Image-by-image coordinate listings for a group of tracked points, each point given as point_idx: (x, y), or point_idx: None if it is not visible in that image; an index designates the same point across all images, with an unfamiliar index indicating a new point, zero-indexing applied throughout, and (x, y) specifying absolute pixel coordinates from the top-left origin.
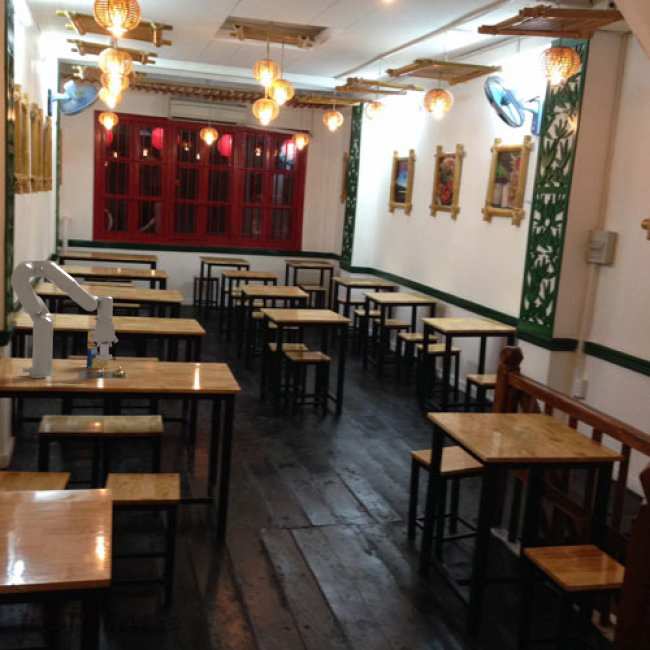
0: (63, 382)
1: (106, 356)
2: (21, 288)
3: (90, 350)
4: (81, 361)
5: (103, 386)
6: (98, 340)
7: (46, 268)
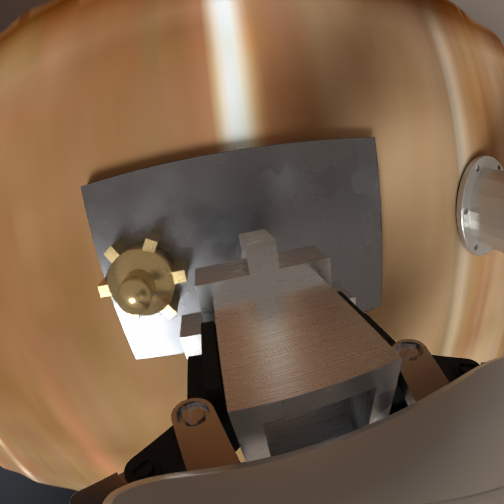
0: (414, 82)
1: (235, 274)
2: None
3: None
4: None
5: (207, 3)
6: (485, 374)
7: None
